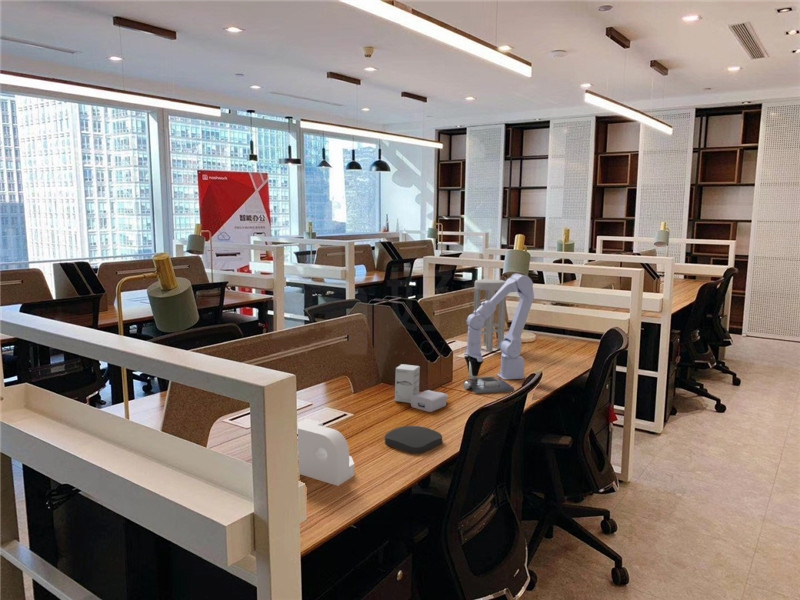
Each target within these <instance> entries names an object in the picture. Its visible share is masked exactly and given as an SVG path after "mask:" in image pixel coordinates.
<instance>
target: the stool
mask: <svg viewBox="0 0 800 600" xmlns="http://www.w3.org/2000/svg"><path fill="white" fill-rule="evenodd" d="M505 282H506V281H505V280H501V279H492V278H487V279H486V278H485V279H483V278H482V279H475V281H474V287H473V289H474V290H473V291H474V293H473V294H474V295H473V312H474V311H476V310H477V309H478V308H479V307H480V306H481V292H482V291H485V296H484V298H485V300H484V302H485V301H486V300H491V298H492V297H493V296H494V295H495V294H496V292H497V291H498V290H499V289H500V288H501V287H502V286H503V285H504V283H505ZM506 299H507V296H506V297H505V298H504V299H502V300H501V301H500V302H499V303H498V322H497V323H494V321H495V320H494V319H495V311H494V312H493V313H492V314H491V315H490V316H489V317H488V318H487V319H486V320H485V321H484V326H483V327H482V329H483V330H481V332H482V334H481V335H483V346H486V347H485V348H486V349H485V350H486V352H493V348H494V347H493V346H494V333H497V346H496V347H497V349H499V350H500V343H501V342H502V341H503V339H504V337H505V325H506V324H505V321H506V319H505V318H506ZM494 327H497V329H495V328H494Z"/></svg>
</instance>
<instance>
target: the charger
mask: <svg viewBox="0 0 800 600" xmlns="http://www.w3.org/2000/svg"><path fill="white" fill-rule="evenodd" d="M447 399H449V394H448V393H444V392H440V391H439V392H437V391H434V390H430V389H427V390H424V391H421V392H419V393H418V394H416V395H413V396H411V403H410V406H411V408H415V409H417V410H421V411H425V412H428V413H432V412H435V411H437V410H439V409H442V408H444V407H446V406H447Z"/></svg>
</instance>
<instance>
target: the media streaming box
mask: <svg viewBox="0 0 800 600" xmlns="http://www.w3.org/2000/svg"><path fill="white" fill-rule="evenodd" d="M384 443H385V445H387V446H389V447H392V448H395V450H396V449H397V450H400V451H403V452H406V453H409V454H418V455H419V454H423V453H426V452H428V451H430V450H433V449H435V448H437V447H438V446H440V445H442V444H443V435H442V434H441V433H440V432H439V431H436V430H434V429H431V428H428V427H424V426H419V425H418V426H417V425H408V426H406V425H405V426H400V427H397V428H394V429H391V430H390V431H389V432H388V433H386V434H385V435H384Z"/></svg>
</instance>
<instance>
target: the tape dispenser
mask: <svg viewBox="0 0 800 600" xmlns="http://www.w3.org/2000/svg"><path fill="white" fill-rule="evenodd" d="M297 423H298V451H299V475H302V476H305V477H308V478H310V479H314V480H318V481H321V482H324V483H327V484H331V485H332V486H333V485H334V486H337V487H339V486H340V485H342V484H344V483H345V482H347V481H349V480H350V479H352V478H354V477H355V462H354V460H353V456H351V455H350V446H349V444H348V441H347V439H346V438H345V436H344V434H342V433H341V432H340V431H338V430H337V429H334V428H331V427H327V426H324V424H323V422H321V421H318V420H314V419H310V418H305V419H303V420H301V421H299V422H297Z"/></svg>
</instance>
